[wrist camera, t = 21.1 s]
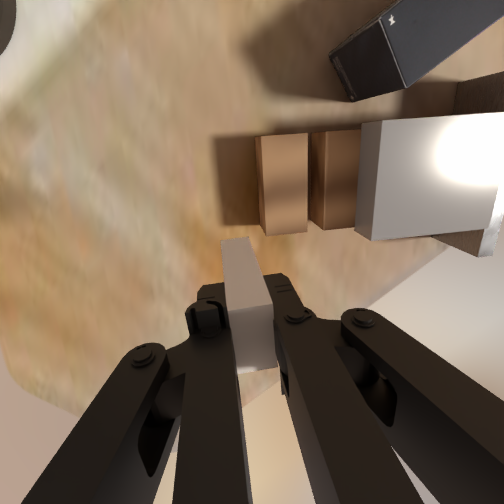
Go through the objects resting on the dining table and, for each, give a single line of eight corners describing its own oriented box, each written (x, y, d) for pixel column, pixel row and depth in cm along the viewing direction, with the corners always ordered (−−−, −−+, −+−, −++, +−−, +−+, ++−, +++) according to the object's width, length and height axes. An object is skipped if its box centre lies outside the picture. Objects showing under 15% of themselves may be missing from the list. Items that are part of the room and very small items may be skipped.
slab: (361, 123, 30) (382, 120, 26) (482, 115, 31) (518, 111, 28) (354, 230, 34) (371, 241, 31) (460, 219, 36) (488, 228, 32)
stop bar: (458, 82, 34) (524, 66, 27) (473, 81, 35) (543, 65, 27) (431, 237, 42) (477, 257, 34) (443, 235, 42) (492, 255, 35)
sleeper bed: (254, 137, 34) (261, 136, 29) (405, 126, 36) (433, 123, 31) (260, 225, 38) (266, 236, 33) (395, 211, 40) (418, 220, 35)
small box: (352, 107, 34) (406, 93, 24) (326, 54, 32) (374, 15, 22) (428, 49, 33) (518, 10, 23) (407, -11, 31) (497, -82, 21)
